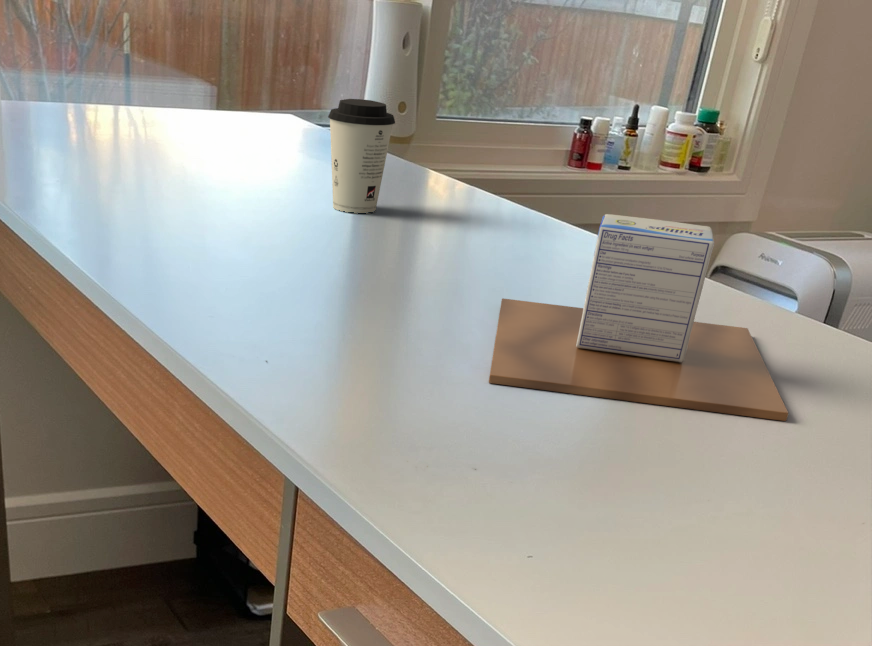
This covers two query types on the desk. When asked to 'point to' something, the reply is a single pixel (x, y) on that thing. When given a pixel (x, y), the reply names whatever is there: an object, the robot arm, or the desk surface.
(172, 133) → the desk surface
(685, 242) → the medicine box
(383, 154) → the coffee cup
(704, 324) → the wooden board
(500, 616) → the desk surface
